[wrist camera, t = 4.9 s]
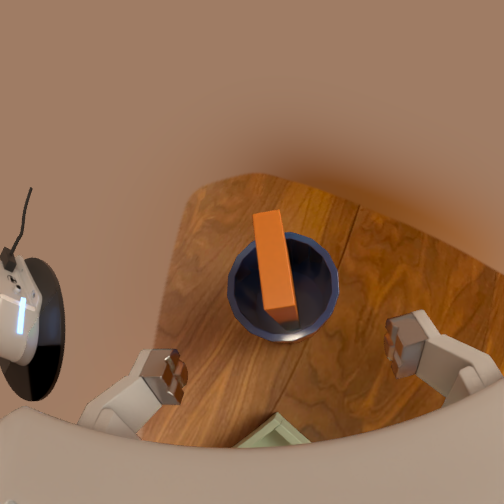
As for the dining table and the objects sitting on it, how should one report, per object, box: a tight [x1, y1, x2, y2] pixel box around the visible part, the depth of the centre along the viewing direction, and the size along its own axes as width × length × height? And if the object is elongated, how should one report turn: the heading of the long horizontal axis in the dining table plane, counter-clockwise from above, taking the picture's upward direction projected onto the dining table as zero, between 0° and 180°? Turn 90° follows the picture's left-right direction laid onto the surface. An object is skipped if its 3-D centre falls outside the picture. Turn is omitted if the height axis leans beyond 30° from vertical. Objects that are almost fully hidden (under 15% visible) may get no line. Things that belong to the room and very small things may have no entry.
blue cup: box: [227, 232, 339, 344], centre depth 22 cm, size 7×7×9 cm
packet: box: [252, 210, 300, 330], centre depth 19 cm, size 1×5×14 cm, turn 6°
